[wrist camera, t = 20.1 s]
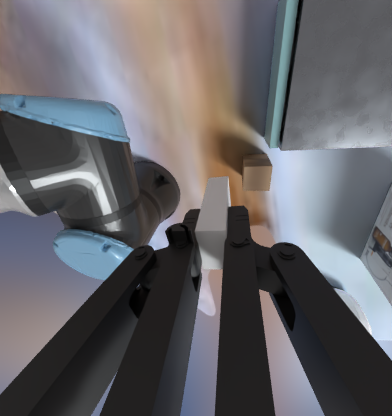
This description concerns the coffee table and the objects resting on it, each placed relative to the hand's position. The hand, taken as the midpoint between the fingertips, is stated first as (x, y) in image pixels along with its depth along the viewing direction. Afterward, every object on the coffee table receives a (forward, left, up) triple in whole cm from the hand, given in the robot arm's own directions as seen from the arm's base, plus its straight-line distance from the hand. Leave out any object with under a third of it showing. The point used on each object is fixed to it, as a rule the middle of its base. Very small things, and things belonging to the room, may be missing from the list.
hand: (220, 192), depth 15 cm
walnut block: (+5, -7, -25) cm, 26 cm away
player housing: (+16, +7, -25) cm, 30 cm away
